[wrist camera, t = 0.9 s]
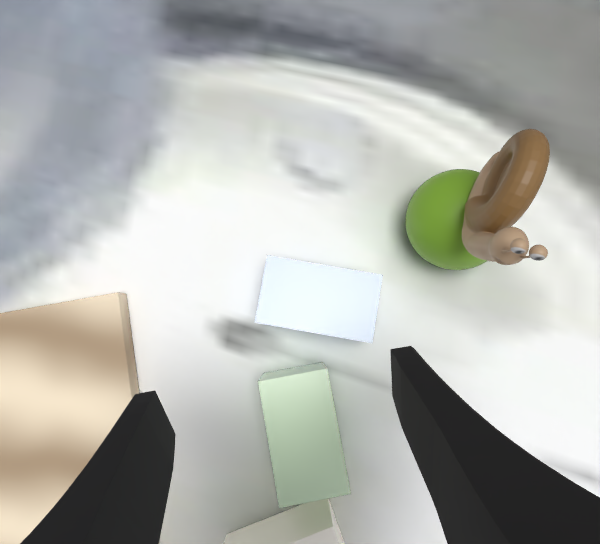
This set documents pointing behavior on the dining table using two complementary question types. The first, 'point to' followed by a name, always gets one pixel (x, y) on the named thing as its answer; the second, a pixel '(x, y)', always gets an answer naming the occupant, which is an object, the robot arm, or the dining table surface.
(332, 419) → the green brick
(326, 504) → the ivory brick
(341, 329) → the blue brick
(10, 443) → the birch board
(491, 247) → the snail figurine
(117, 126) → the dining table surface
